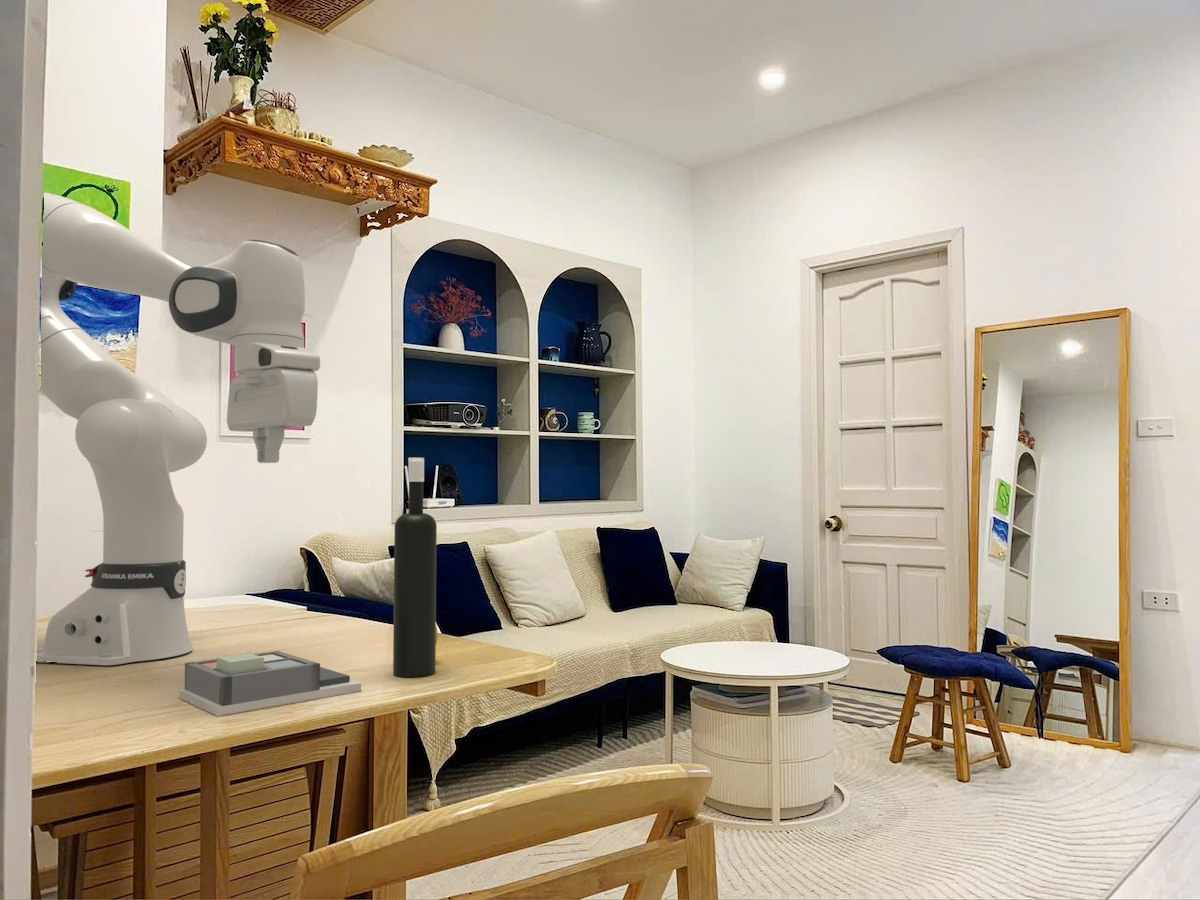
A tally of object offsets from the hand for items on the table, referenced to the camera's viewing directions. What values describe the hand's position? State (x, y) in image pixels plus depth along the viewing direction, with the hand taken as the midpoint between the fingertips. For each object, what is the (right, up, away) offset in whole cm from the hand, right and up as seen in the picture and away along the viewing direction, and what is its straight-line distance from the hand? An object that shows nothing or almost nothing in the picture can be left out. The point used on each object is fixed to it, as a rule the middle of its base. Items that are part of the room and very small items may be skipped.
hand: (268, 462), depth 121 cm
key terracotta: (-2, -27, -11) cm, 29 cm away
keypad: (+4, -29, -9) cm, 30 cm away
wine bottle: (+19, -30, +4) cm, 35 cm away
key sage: (+2, -25, -14) cm, 29 cm away
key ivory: (+2, -27, -7) cm, 28 cm away
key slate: (+6, -27, -11) cm, 29 cm away
